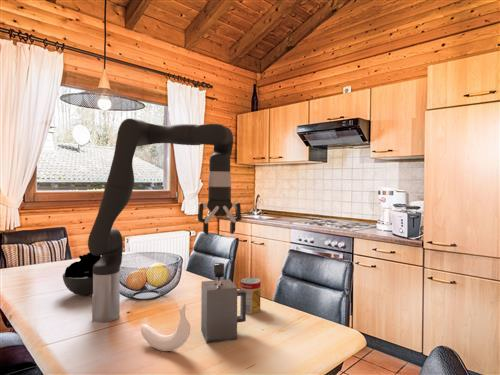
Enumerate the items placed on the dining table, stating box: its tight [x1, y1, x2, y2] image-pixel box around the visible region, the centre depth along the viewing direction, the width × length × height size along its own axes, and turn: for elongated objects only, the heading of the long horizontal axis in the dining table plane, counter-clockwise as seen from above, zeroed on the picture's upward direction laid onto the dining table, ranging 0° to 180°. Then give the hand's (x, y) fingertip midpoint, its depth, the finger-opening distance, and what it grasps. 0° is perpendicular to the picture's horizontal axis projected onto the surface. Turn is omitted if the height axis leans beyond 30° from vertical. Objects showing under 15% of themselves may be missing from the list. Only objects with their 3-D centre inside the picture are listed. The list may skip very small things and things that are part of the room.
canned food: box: [240, 277, 262, 315], centre depth 140 cm, size 8×8×12 cm
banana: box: [140, 303, 191, 352], centre depth 107 cm, size 5×19×15 cm, turn 67°
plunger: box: [213, 262, 225, 286], centre depth 117 cm, size 3×3×18 cm
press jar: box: [200, 279, 247, 344], centre depth 118 cm, size 14×10×17 cm
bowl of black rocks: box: [62, 251, 102, 297], centre depth 156 cm, size 20×20×19 cm
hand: (219, 234), depth 117 cm, fingers open, 8 cm apart
